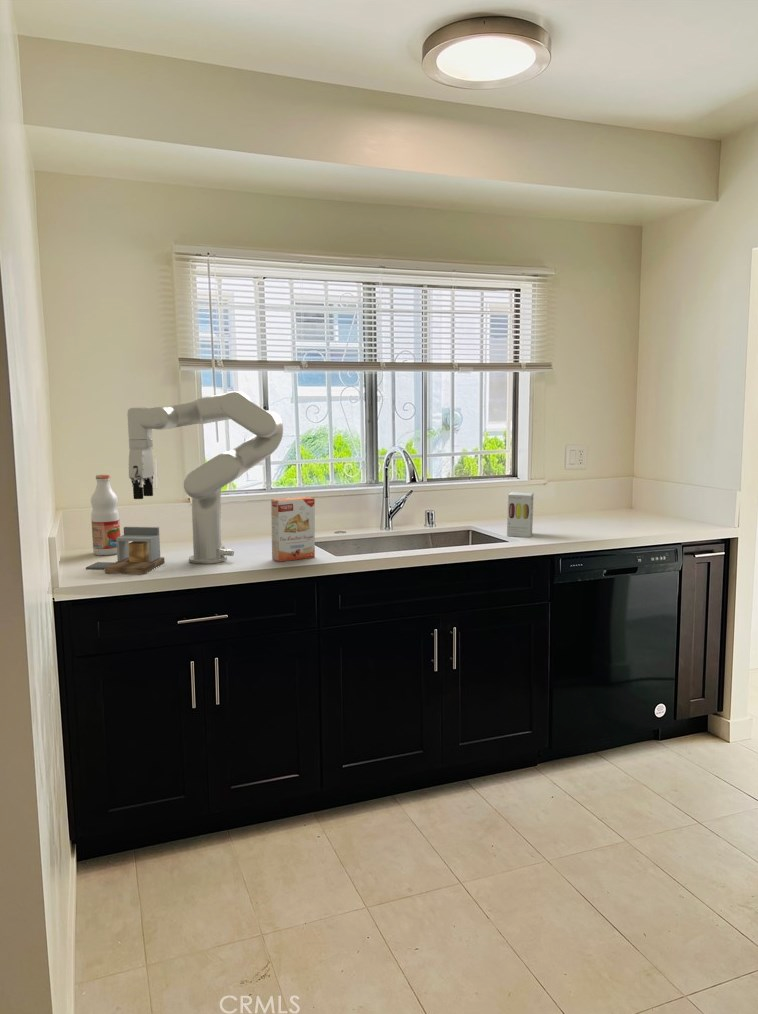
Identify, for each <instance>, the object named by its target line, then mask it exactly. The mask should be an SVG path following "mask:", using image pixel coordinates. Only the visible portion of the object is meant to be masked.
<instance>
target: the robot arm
mask: <svg viewBox="0 0 758 1014" xmlns="http://www.w3.org/2000/svg"><path fill="white" fill-rule="evenodd" d="M126 416H127V431H128V432H127V435H128V449H129V452H128V453H129V455H128V479H130V481H131V485H132V492H133V500H143V499H144V497H153V496H154V486H153V484H154V481H153V480H154V474H155V472H154V468H155V467H154V457H153V452H152V451H153V450H152V449H153V448H154V447H153V445H154V444H153V430H158V431H162V430H170V429H175V428H181V427H187V426H192V425H204V424H211V423H217V422H220V421H227V420H232V421H233V422H235V423H236V424H237V425H240V426H241V427H242V428H244V429H245V430H247V431H248V432H250V433H252V434H253V435H252V437H249V438H248V439H247V440H245V441H244V442H242V443H241V444H240V445H237V446H235V447H234V448H233V449H230V450H229V451H228V450H227V451H224V452H221V453H219V454H217V455H216V456H214V457H212V458H211V459H209V460H207V461H206V462H204V463H203V464H201V465H200V466H198V467H196V468H195V469H193V470H192V471H190V472H189V473H188V474H187V475H186V477H185V478H184V481H183V489H184V493H186V495H188V496H189V497H190V498H191V518H192V519H191V520H192V521H191V523H192V544H193V545H192V546H193V547H192V548H193V551H192V552H193V555H191V556H189V558H188V562H190V563H193V564H203V565H206V564H207V565H208V564H217V563H222V562H224V561H227V560H228V557H233V556H234V554H235V550H233V549H226V548H225V545H223V543H222V541H223V540H222V537H223V536H222V512H221V511H222V509H221V508H222V506H221V505H222V503H221V502H222V500H221V499H222V488H224V487H225V486H227V485H228V484H231V483H232V482H233V481H235V480H237V479H239V478H240V477H241V476H242V475H244V473H246V472H248V471H249V470H251V469H253V468H254V467H255V466H257V465H258V464H260V463H261V462H263V461H264V460H266V459H267V458H268V457H269V456H271V455H272V454H273V453H275V451H276V450H277V449H278V448H279V445H280V444H281V442H282V439H283V436H284V435H283V434H284V424H283V420H282V418H281V417H280V415H279V414H278V413H276V412H275V411H272V410H266V409H264V408H262V407H261V406H259V405H258V404H256V403H255V402H253V401H252V400H251V399H250V397H249V396H248V395H247V394H246V393H245V392H242V391H235V390H234V391H229V392H226V393H222V394H217V395H211V396H205V397H200V398H197V399H196V400H194V401H191V402H187V403H182V404H175V405H169V406H154V407H130V408H128V409H127V415H126Z"/></svg>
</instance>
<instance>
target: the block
mask: <svg viewBox="0 0 758 1014" xmlns="http://www.w3.org/2000/svg"><path fill="white" fill-rule="evenodd" d="M128 544H129V562H147V561H149V543H148V541H130V542H129V543H128Z"/></svg>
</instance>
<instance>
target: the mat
mask: <svg viewBox="0 0 758 1014" xmlns="http://www.w3.org/2000/svg"><path fill="white" fill-rule="evenodd" d="M115 562H116V561H115ZM115 562H114V561H113V562H109V561H108V562H107V561H106V562H105V561H97V562H95V563H92V564H90V565H88V566H86V567H85V570H100V569H105V567H106V566H108V565H110V564H112V563H115Z"/></svg>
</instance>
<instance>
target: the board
mask: <svg viewBox="0 0 758 1014" xmlns="http://www.w3.org/2000/svg"><path fill="white" fill-rule="evenodd" d="M165 562H166V561H165V557H164V556H163V557H161V556H160V558H158V559H156V560H155V561H153V562H149V561H147V562H129V557H128V558H126V559H124V560H121V561H118V560H117V561H115V563H112V564H110V565H108V566H106V567H105V570H104V574H113V573H121V574H123V575H124V574H125V575H146V574H148V573H149V572H152V571H153V570H155V569H157V568H159V567H161V566H162V565H164V564H165ZM158 566H159V567H158ZM156 567H157V568H156ZM154 568H155V569H154ZM152 569H153V570H152ZM147 572H148V573H147Z"/></svg>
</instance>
